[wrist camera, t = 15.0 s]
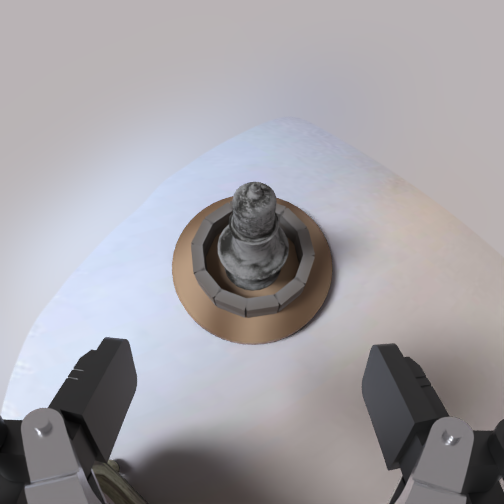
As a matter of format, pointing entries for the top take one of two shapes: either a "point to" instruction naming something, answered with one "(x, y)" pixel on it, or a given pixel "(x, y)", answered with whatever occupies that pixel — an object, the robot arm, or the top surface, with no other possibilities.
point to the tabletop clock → (115, 484)
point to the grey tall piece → (253, 239)
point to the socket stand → (246, 301)
